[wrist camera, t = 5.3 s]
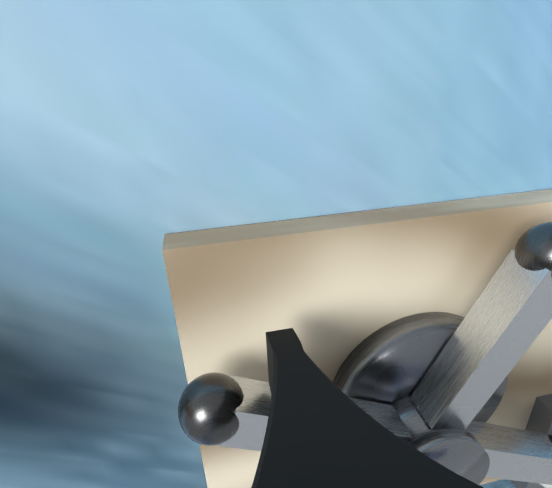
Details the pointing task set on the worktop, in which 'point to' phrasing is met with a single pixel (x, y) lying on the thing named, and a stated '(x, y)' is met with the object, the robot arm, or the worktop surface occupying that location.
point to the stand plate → (343, 292)
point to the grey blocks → (539, 430)
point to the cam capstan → (422, 378)
